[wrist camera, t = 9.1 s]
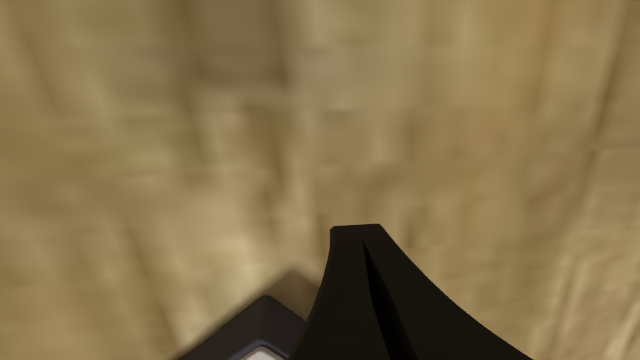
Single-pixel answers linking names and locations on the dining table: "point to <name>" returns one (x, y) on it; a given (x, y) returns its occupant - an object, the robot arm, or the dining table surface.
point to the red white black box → (254, 334)
